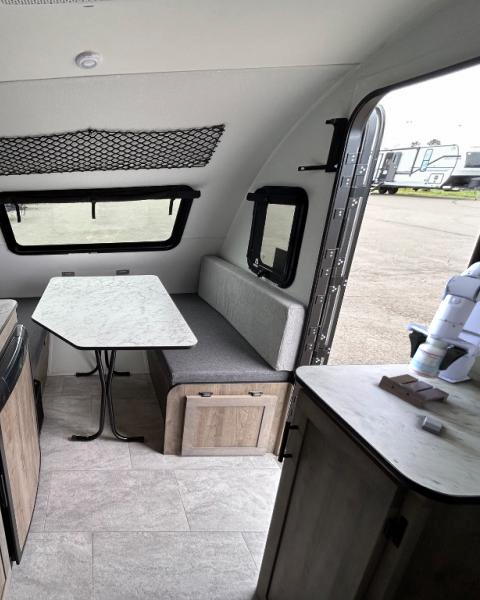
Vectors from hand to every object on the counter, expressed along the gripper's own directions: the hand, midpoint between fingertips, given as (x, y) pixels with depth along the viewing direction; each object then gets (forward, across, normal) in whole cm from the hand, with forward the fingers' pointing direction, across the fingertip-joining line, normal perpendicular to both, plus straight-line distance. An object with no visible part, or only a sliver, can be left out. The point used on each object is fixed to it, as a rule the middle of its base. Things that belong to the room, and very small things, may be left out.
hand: (427, 363), depth 92 cm
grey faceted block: (+10, +11, -14) cm, 20 cm away
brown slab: (+10, +1, -2) cm, 10 cm away
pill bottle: (+4, 0, 0) cm, 4 cm away
